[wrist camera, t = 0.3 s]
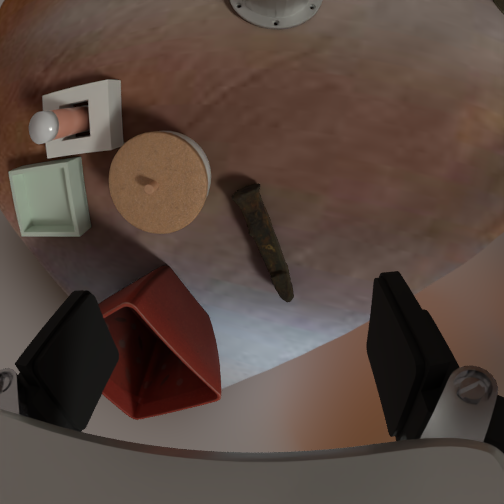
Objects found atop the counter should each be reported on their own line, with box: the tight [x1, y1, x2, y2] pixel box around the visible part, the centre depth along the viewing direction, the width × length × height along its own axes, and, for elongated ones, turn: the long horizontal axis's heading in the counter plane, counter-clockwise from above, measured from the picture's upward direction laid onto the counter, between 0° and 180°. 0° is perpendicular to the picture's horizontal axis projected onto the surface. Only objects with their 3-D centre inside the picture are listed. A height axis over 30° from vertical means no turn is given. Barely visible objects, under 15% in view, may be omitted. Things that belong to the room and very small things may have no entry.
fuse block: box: [42, 80, 124, 159], centre depth 39 cm, size 10×12×4 cm
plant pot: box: [98, 266, 221, 420], centre depth 47 cm, size 19×19×17 cm
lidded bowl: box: [109, 131, 211, 234], centre depth 39 cm, size 13×13×11 cm
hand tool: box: [232, 184, 294, 302], centre depth 46 cm, size 19×4×5 cm, turn 19°
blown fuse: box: [29, 105, 90, 144], centre depth 35 cm, size 4×4×12 cm
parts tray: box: [9, 157, 91, 237], centre depth 45 cm, size 12×14×4 cm
